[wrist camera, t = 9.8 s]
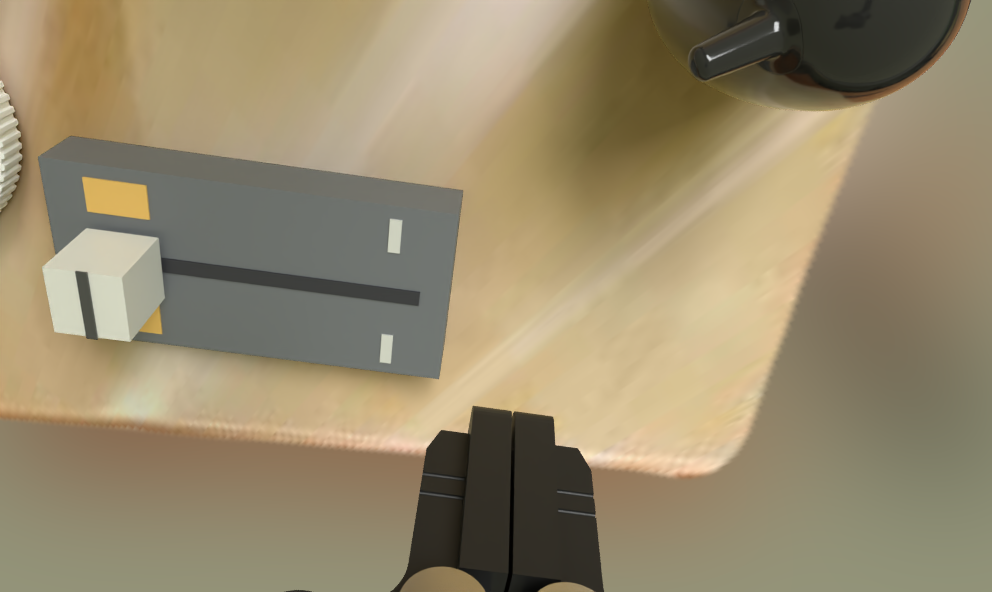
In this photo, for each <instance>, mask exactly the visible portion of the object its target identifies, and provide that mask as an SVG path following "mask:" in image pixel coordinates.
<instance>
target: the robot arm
mask: <svg viewBox="0 0 992 592" xmlns="http://www.w3.org/2000/svg"><path fill="white" fill-rule="evenodd" d="M593 494H594V493H593V484H592V474H591V469H590V468H589V466H588V464H587V463H586V461H585V459H584V458H583V456H582V454H581V453H580V451H579V449H578V448H571V447H564V446H556V445H555V433H554V419H553V417H552V416H545V415H537V414H530V413H523V412H516V411H514V413H513V416H512V412H511V411H507V410H500V409H493V408H485V407H478V406H473V408H472V412H471V418H470V424H469V429H468V434H467V433H459V432H452V431H445V430H441V431H440V432H439V433H438V435H437V436H436V437H435V439H434V440H433V441H432V442H431V444H430V445H429V446H428V447H427V449H426V456H425V462H424V468H423V475H422V481H421V487H420V494H419V500H418V507H417V513H416V519H415V525H414V532H413V538H412V544H411V551H410V557H409V563H408V567H407V571H406V573H405V575H404V577H403V579H402V580H401V582H400V583H399V584H398V585H397V586H396V587H395V588H394V590H392V591H391V592H604V589H603V582H602V573H601V562H600V552H599V542H598V533H597V523H596V518H595V503H594V499H593ZM286 592H310V591H304V590H294V591H286Z"/></svg>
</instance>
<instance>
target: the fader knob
mask: <svg viewBox="0 0 992 592" xmlns="http://www.w3.org/2000/svg"><path fill="white" fill-rule="evenodd" d="M42 270H43V275H44V280H45V285H46V290H47V295H48V300H49V306H50V311H51V316H52V321H53V326H54V331H55V332H57V333H65V334H73V335H81V336H86V338H87V339H95V340H97V339H98V338H105V339H112V340H120V341H128V342H131V340H132V339H133V338H134V337H135V335H136V334H137V333H138V332H139V330H140V329H141V328H142V326H143V325H144V324H145V323H146V321H147V320H148V319H149V318H150V316H151V315H152V314H153V313H154V311H155V310H156V309H157V307H158V306H159V305H160V304H161V302H162V301H163V300H164V299H165V294H164V285H163V275H162V265H161V255H160V246H159V238H157V237H149V236H142V235H134V234H127V233H119V232H112V231H105V230H97V229H90V228H86V229H85V230H84V231H83V232H81V233H80V234H79V235H78V236H77V237H76V238H75V239H73V240H72V241H71V242H70V243H69V244H68V245H67V246H65V247H64V248H63V249H62V250H61V251H60V252H59V253H58V254H56V255H55V256H54V257H53V258H52V259H51V260H50V261H48V262H47V263H46V264H45V265H44V266H43V267H42Z"/></svg>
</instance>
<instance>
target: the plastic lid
mask: <svg viewBox="0 0 992 592" xmlns="http://www.w3.org/2000/svg"><path fill="white" fill-rule="evenodd" d="M3 87H4V84H3V82H2V81H0V212H1V211H2V210H1V209H2V208H4V207H5V206H6V205H7V204H8V203H7V202H6V201H8V200H9V199H11V197H12V194H11V192H12V191H14V190H15V189H16V187H17V186H16V185H15V184H14V183H15V182H17V181H18V180H19V177H20V176H19V175H17V172H19V171H20V170H21V165H19V161H20V160H22V155H21V154H20V153H19V150H20V149H22V143H20V142H19V141H18V138H19V137H21V133H20V131H18V130H17V128H16V126H17V125H18V124H19V123H18V120H17V119H15V118H14V116H13V113H14V112H15V110H14V107H13V106H10V104H9V102H8V100H10V97H9V94H7V93H4V90H3Z"/></svg>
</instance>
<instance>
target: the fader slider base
mask: <svg viewBox="0 0 992 592" xmlns="http://www.w3.org/2000/svg"><path fill="white" fill-rule="evenodd" d="M38 160H39V166H40V171H41V177H42V182H43V188H44V193H45V199H46V204H47V210H48V215H49V220H50V226H51V231H52V237H53V242H54V248H55V253H56V254H58V253H59V252H60V251H61V250H62V249H63V248H64V247H65V246H67V245H68V244H69V243H70V242H71V241H72V240H73V239H75V238H76V237H77V236H78V235H79V234H80V233H81V232H83V231H84V230H85V229H86V228H90V229H97V230H105V231H112V232H119V233H127V234H134V235H142V236H149V237H157V238H159V246H160V255H161V265H162V275H163V285H164V294H165V299H164V300H163V301H162V302H161V304H160V305H159V306H158V307H157V309H156V310H155V311H154V313H153V314H152V315H151V316H150V318H149V319H148V320H147V321H146V323H145V324H144V325H143V326H142V328H141V329H140V330H139V332H138V333H137V334H136V335H135V337H134V338H133V339H132V340H137V341H144V342H152V343H160V344H168V345H176V346H184V347H192V348H199V349H207V350H215V351H223V352H231V353H239V354H246V355H254V356H262V357H270V358H278V359H286V360H293V361H301V362H309V363H317V364H325V365H333V366H340V367H348V368H356V369H364V370H372V371H380V372H388V373H395V374H403V375H411V376H419V377H427V378H435V379H439V375H440V369H441V362H442V356H443V350H444V342H445V334H446V326H447V318H448V310H449V302H450V293H451V285H452V277H453V269H454V261H455V253H456V245H457V237H458V229H459V221H460V213H461V205H462V197H463V190H456V189H449V188H441V187H434V186H427V185H420V184H413V183H405V182H398V181H391V180H384V179H377V178H370V177H362V176H355V175H348V174H341V173H334V172H326V171H319V170H312V169H305V168H298V167H290V166H283V165H276V164H269V163H262V162H254V161H247V160H240V159H233V158H226V157H219V156H211V155H204V154H197V153H190V152H183V151H175V150H168V149H161V148H154V147H147V146H139V145H132V144H125V143H118V142H111V141H104V140H96V139H89V138H82V137H75V136H70V137H68V138H66V139H65V140H63V141H62V142H60V143H59V144H57V145H56V146H54V147H52V148H51V149H49V150H48V151H46V152H45V153H43V154H42V155H40V156H38Z"/></svg>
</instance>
